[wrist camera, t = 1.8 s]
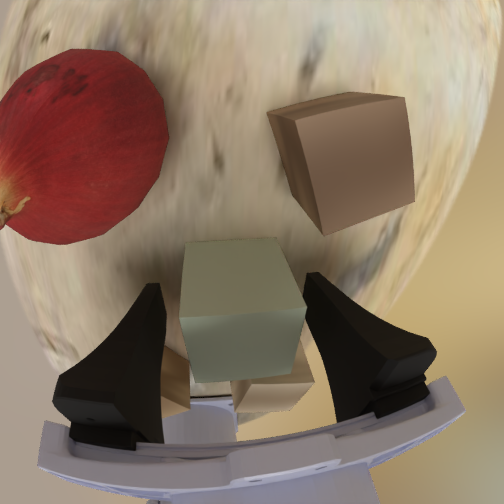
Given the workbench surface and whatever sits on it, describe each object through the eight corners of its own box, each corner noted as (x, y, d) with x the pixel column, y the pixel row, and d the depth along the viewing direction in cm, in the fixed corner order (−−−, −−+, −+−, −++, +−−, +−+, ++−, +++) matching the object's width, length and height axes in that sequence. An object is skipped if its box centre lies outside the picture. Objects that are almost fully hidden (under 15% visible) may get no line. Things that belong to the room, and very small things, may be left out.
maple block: (278, 367, 20) (289, 410, 17) (228, 365, 19) (234, 412, 15) (298, 334, 18) (315, 382, 15) (242, 331, 17) (251, 383, 14)
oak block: (189, 360, 18) (190, 409, 15) (153, 377, 19) (150, 421, 15) (147, 332, 16) (140, 385, 12) (113, 352, 17) (104, 400, 13)
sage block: (269, 302, 16) (290, 373, 12) (194, 308, 15) (195, 383, 11) (275, 236, 13) (307, 307, 9) (185, 241, 13) (178, 317, 9)
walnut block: (365, 170, 12) (414, 201, 9) (291, 194, 12) (323, 236, 9) (349, 91, 10) (404, 97, 7) (266, 112, 10) (294, 120, 7)
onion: (38, 120, 8) (-96, 184, 1) (136, 36, 7) (27, -35, 1) (102, 213, 11) (23, 351, 5) (205, 143, 10) (201, 241, 4)
